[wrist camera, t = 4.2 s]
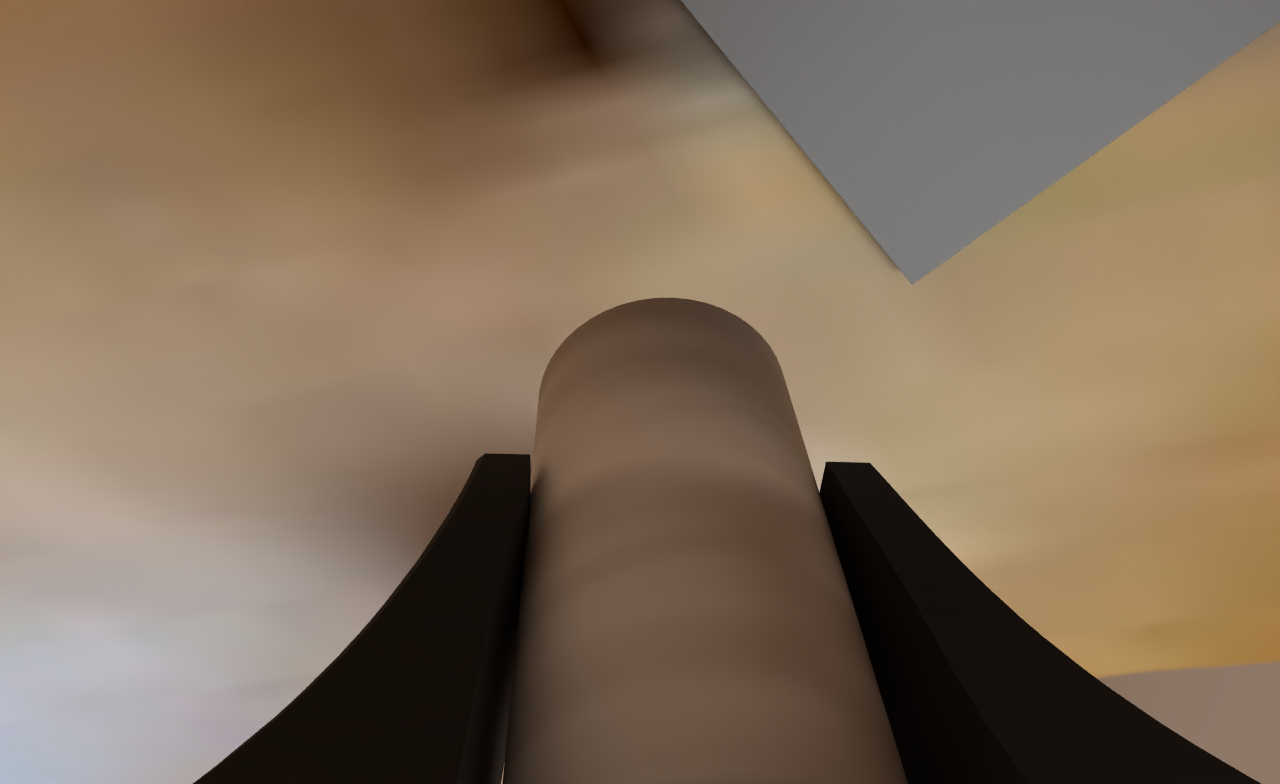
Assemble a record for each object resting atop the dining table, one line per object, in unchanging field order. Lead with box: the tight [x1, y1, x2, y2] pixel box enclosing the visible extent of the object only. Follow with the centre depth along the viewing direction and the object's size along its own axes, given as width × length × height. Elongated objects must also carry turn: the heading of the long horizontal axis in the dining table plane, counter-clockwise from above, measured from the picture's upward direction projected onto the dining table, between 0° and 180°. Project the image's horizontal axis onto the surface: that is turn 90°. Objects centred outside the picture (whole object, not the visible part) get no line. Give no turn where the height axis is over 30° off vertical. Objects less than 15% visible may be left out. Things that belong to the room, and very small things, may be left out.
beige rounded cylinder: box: [503, 298, 908, 784], centre depth 12 cm, size 4×4×8 cm
